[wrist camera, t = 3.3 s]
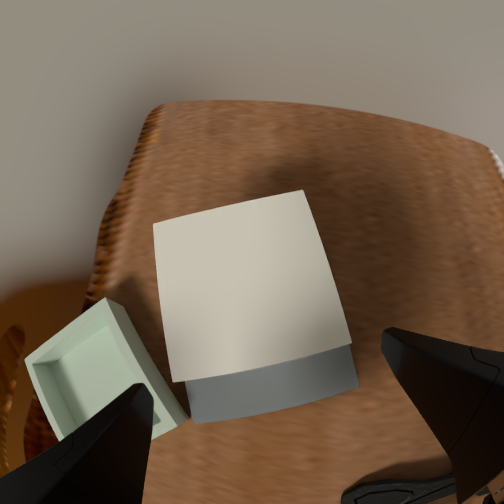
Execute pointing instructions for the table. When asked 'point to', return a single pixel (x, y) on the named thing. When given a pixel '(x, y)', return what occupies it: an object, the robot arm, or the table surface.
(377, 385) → the table surface
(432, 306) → the table surface
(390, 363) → the robot arm
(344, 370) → the coaster
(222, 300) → the white block
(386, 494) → the hairbrush
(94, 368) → the tray
